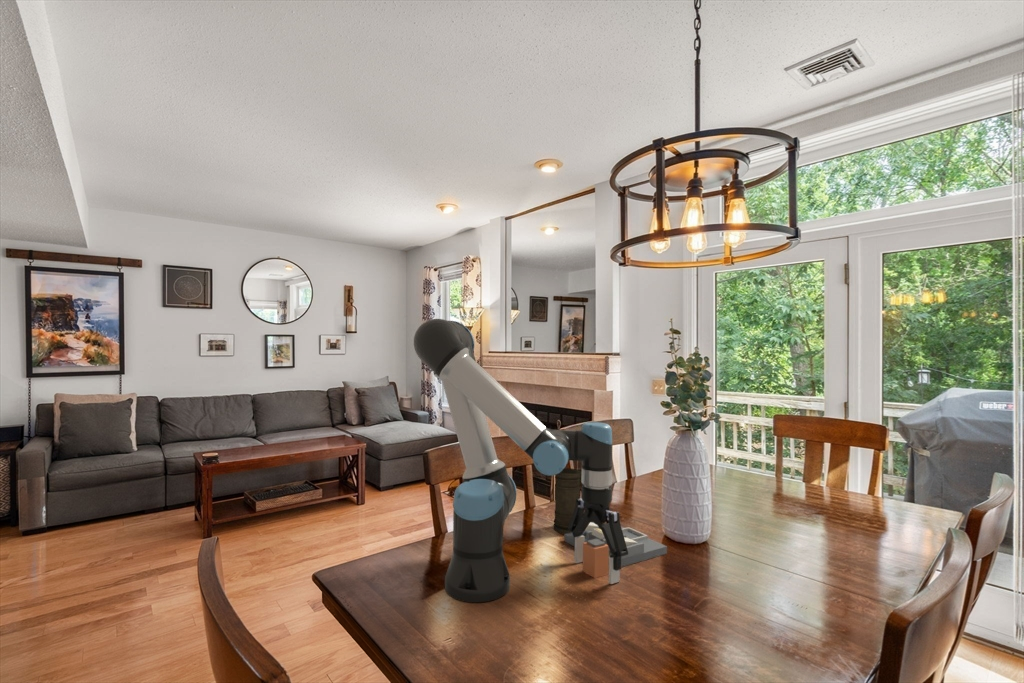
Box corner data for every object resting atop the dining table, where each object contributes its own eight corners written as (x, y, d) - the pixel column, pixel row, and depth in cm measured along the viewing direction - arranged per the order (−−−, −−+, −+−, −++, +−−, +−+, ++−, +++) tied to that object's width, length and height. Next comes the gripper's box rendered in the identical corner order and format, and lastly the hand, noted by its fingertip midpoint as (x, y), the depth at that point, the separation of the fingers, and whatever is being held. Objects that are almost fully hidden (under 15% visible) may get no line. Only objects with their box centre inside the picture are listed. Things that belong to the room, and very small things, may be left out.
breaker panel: (614, 569, 124) (614, 551, 125) (564, 541, 142) (564, 525, 143) (666, 553, 134) (667, 537, 134) (613, 529, 152) (613, 515, 152)
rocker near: (618, 546, 128) (619, 540, 128) (607, 541, 131) (609, 535, 131) (637, 548, 131) (638, 542, 131) (626, 543, 135) (627, 537, 135)
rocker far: (585, 530, 139) (586, 524, 139) (576, 526, 142) (577, 520, 143) (603, 532, 142) (604, 527, 143) (594, 528, 146) (595, 522, 146)
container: (572, 537, 146) (573, 476, 146) (547, 530, 151) (548, 471, 151) (587, 528, 153) (588, 470, 153) (562, 522, 158) (563, 466, 158)
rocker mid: (601, 539, 133) (602, 532, 134) (591, 534, 137) (592, 527, 137) (619, 539, 137) (620, 533, 137) (610, 535, 140) (611, 528, 141)
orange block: (594, 578, 119) (594, 546, 120) (582, 570, 123) (583, 540, 123) (608, 574, 122) (608, 543, 122) (596, 567, 126) (596, 537, 126)
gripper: (643, 495, 114) (643, 588, 114) (577, 472, 135) (576, 551, 135) (620, 500, 110) (619, 596, 110) (555, 476, 131) (554, 556, 131)
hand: (596, 571), depth 123 cm, fingers open, 12 cm apart
